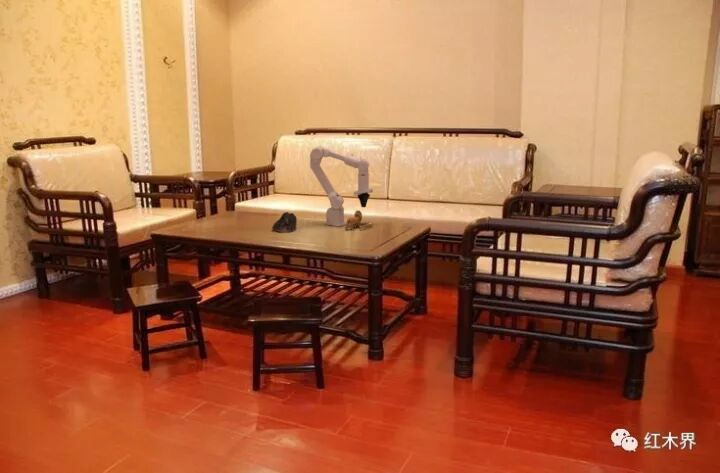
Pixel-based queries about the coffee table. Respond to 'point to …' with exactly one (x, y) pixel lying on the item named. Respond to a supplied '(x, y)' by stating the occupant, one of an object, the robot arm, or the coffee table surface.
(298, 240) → the coffee table surface
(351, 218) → the lion figurine
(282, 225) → the crystal cluster
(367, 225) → the wooden frame
